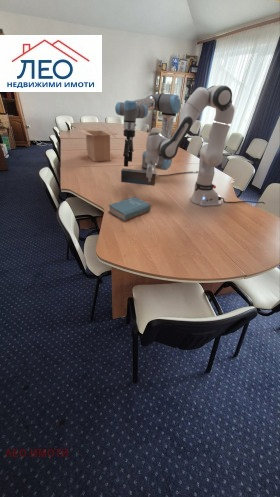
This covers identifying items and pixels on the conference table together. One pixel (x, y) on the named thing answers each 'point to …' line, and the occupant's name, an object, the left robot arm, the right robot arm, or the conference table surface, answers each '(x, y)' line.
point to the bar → (137, 177)
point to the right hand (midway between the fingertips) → (150, 180)
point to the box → (98, 144)
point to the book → (129, 208)
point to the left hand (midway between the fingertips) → (128, 163)
